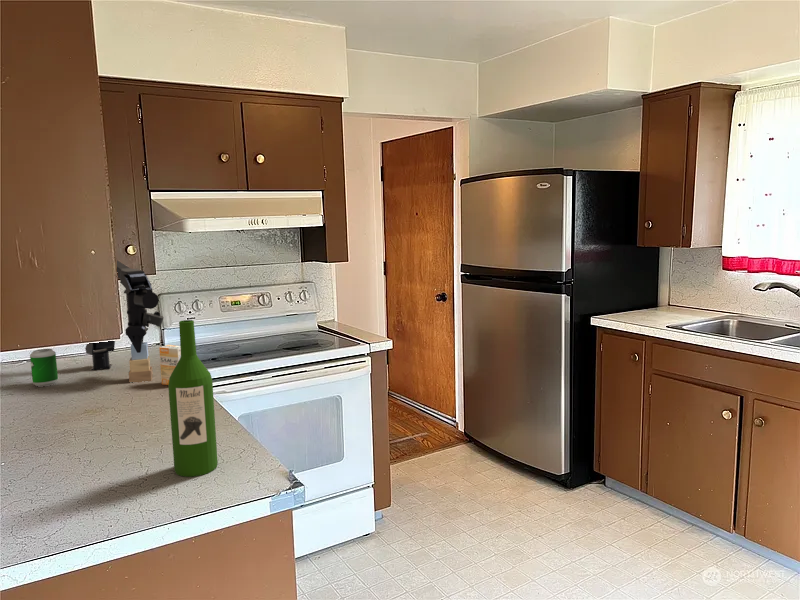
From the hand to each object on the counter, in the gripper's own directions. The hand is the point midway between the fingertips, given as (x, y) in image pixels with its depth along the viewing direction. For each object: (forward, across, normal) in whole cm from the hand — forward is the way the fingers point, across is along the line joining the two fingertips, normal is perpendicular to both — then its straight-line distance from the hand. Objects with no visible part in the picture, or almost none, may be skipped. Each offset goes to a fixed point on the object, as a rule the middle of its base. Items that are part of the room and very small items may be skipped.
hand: (139, 350), depth 204 cm
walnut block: (+11, 0, 0) cm, 11 cm away
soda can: (+11, +7, +31) cm, 34 cm away
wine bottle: (+10, -90, -17) cm, 92 cm away
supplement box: (+10, -12, -11) cm, 19 cm away
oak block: (+7, 0, 0) cm, 7 cm away
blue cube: (+2, 0, 0) cm, 2 cm away
